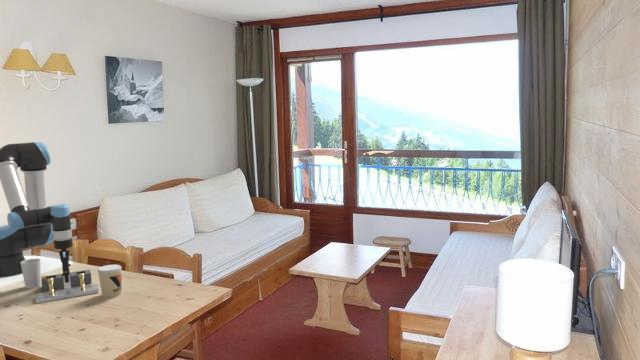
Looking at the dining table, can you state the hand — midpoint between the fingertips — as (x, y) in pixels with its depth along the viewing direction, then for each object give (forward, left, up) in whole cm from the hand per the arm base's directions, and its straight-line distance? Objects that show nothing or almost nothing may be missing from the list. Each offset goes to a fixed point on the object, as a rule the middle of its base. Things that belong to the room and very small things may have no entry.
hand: (67, 284), depth 233 cm
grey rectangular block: (0, 0, 0) cm, 0 cm away
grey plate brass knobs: (+15, 0, 0) cm, 15 cm away
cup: (-7, -14, 0) cm, 16 cm away
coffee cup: (+24, +17, 0) cm, 29 cm away
